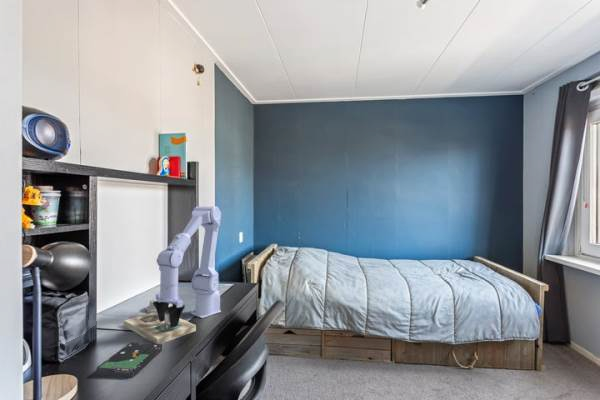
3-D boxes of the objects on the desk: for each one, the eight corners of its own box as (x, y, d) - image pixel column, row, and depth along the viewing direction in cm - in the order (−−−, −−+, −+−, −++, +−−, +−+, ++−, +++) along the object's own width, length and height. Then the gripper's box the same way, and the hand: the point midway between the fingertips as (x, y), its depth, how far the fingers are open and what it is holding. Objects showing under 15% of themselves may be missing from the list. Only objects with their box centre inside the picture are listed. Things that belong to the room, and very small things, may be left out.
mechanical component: (161, 304, 136) (140, 311, 127) (161, 294, 136) (141, 300, 127) (177, 308, 131) (156, 315, 122) (177, 298, 131) (157, 304, 122)
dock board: (161, 315, 122) (161, 309, 122) (195, 330, 108) (196, 324, 108) (124, 325, 111) (124, 319, 111) (157, 345, 97) (157, 337, 97)
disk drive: (129, 351, 94) (95, 378, 79) (129, 342, 94) (95, 367, 79) (162, 352, 93) (133, 379, 79) (162, 343, 93) (134, 368, 79)
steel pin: (169, 330, 108) (170, 308, 108) (173, 332, 106) (174, 310, 106) (162, 333, 106) (162, 310, 106) (166, 335, 104) (166, 312, 104)
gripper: (147, 283, 107) (146, 321, 107) (169, 290, 98) (168, 332, 98) (166, 279, 113) (165, 316, 113) (188, 286, 104) (188, 326, 104)
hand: (168, 323), depth 106 cm, fingers open, 7 cm apart
